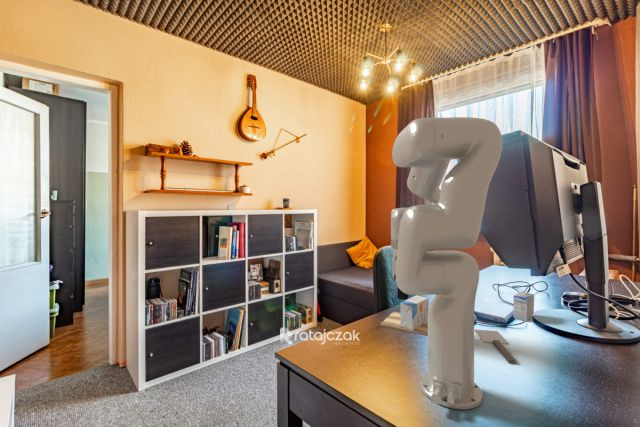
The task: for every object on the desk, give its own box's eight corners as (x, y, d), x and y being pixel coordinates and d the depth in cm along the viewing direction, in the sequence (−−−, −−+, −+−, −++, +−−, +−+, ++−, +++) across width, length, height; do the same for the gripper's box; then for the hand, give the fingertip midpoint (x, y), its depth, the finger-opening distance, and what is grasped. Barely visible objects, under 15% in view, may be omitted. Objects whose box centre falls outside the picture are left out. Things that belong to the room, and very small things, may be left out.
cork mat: (427, 335, 96) (427, 333, 96) (380, 325, 104) (380, 324, 104) (436, 320, 108) (436, 319, 108) (393, 312, 117) (393, 311, 117)
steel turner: (527, 364, 77) (527, 361, 77) (497, 362, 79) (497, 358, 79) (497, 332, 98) (497, 329, 98) (474, 330, 99) (474, 327, 99)
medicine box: (520, 313, 115) (520, 291, 115) (534, 316, 111) (534, 293, 111) (513, 318, 110) (513, 295, 110) (527, 322, 106) (527, 297, 106)
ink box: (413, 305, 98) (432, 295, 108) (399, 302, 101) (419, 292, 112) (413, 331, 98) (432, 318, 109) (399, 326, 102) (419, 315, 112)
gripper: (407, 248, 92) (407, 307, 92) (419, 243, 104) (419, 295, 105) (384, 246, 96) (384, 303, 96) (398, 242, 108) (398, 292, 109)
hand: (402, 298), depth 100 cm, fingers closed
